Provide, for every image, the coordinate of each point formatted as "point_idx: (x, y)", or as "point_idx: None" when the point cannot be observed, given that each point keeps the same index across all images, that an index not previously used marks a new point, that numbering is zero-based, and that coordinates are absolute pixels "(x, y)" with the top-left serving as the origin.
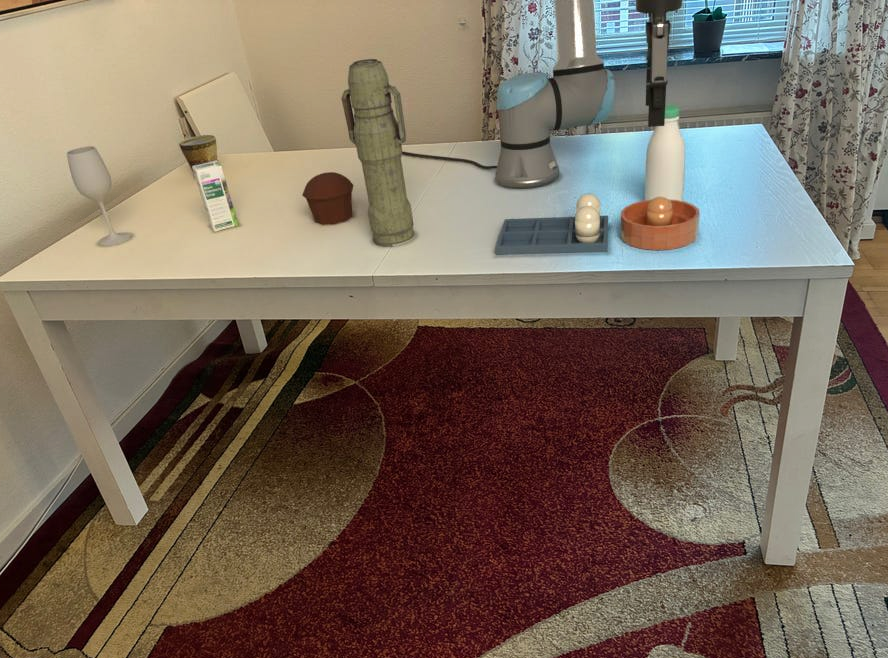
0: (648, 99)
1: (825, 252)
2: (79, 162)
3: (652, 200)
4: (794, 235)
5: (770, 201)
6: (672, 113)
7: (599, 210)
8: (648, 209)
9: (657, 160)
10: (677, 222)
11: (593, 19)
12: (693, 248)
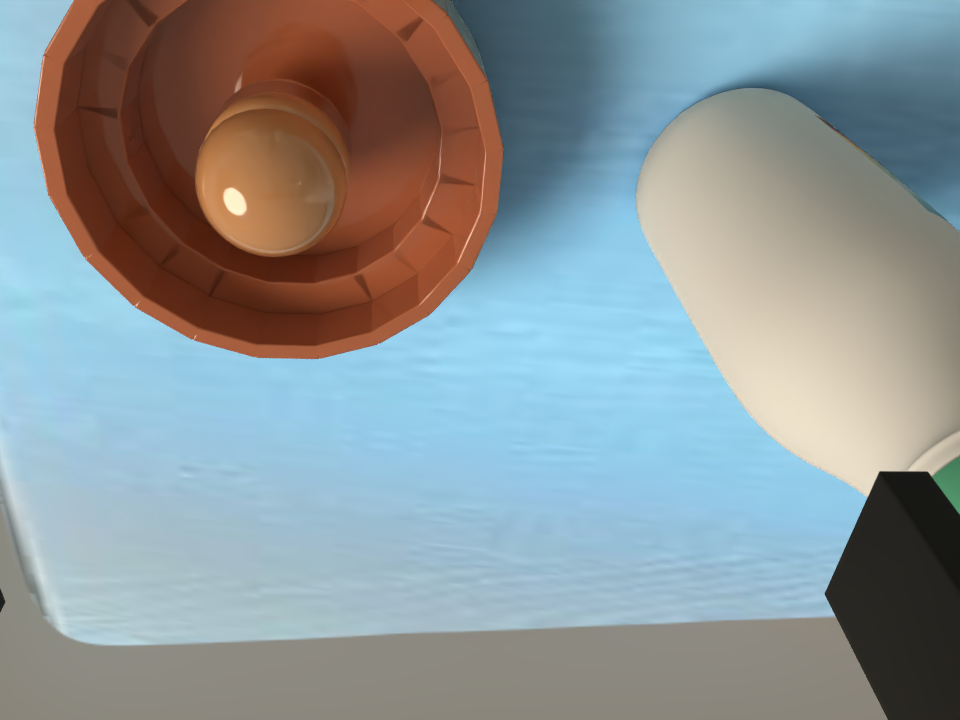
0: (906, 552)
1: (157, 622)
2: None
3: (256, 159)
4: (301, 573)
5: (635, 551)
6: None
7: None
8: (239, 116)
9: (749, 266)
10: (395, 230)
11: None
12: None
